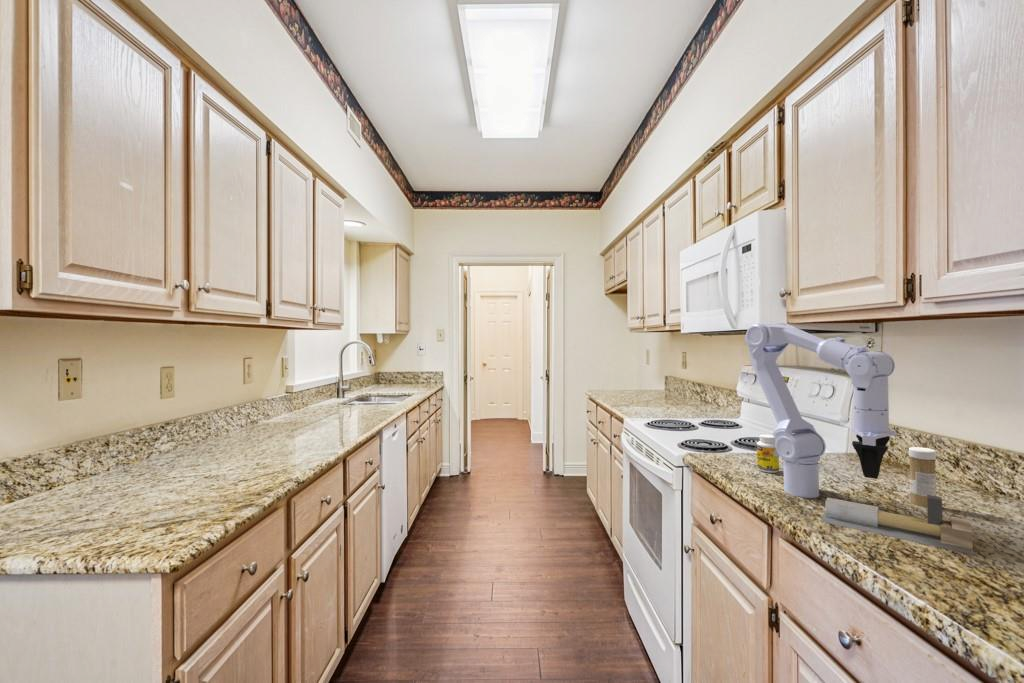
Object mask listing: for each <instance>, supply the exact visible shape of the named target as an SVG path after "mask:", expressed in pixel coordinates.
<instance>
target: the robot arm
mask: <svg viewBox="0 0 1024 683" xmlns="http://www.w3.org/2000/svg"><path fill="white" fill-rule="evenodd" d="M743 340H744V342H745V344H746V347H747V349H748V352H749V359H750V360H749V361H750V364H751V366H752V369H753V370H754V373H755V376H756V377H757V381H758V382H759V385H760V387H761V389H762V391H763V393H764V396H765V399H766V400H767V402H768V404H769V407H770V409H771V411H772V414H773V416H774V419H775V420H776V423H777V426H776V428H775V429H774V430H773V432H772V436H774V437H775V446H776V450H777V452H778V454H779V456H780V458H781V460H782V461H783V464H782V466H783V491H784V493H786V494H789V495H791V496H794V497H798V498H804V499H805V498H807V499H815V498H818V497H819V496H820V476H819V475H820V473H819V471H820V469H819V461H821V457H822V456H823V455H824V454H825V452H826V446H827V445H826V442H825V440H824V438H823V437H822V435H820V434H819V433H818V432H817V430H816V429H815V427H814V425H813V424H811V423H810V422H808V421H807V420H805V419H804V418H803V417H802V415H801V413H800V411H799V409H798V407H797V405H796V402H795V400H794V398H793V396H792V394H791V391H790V389H789V387H788V386H787V382H786V381H785V379H784V377H783V375H782V372H781V370H780V368H779V366H778V363H777V360H778V358H779V357H780V356H781V355H782V353H783V352H784V351H785V350H786V348H787V347H788V346H789V345H794V346H797V347H799V348H801V349H805V350H808V351H811V352H813V353H816V354H817V357H818V358H819V360H820V361H822V362H824V363H826V364H829V365H831V366H834V367H836V368H838V369H841V370H843V371H846V374H848V376H849V377H850V378H851V385H852V390H853V391H852V396H853V400H852V401H853V403H852V404H853V427H852V432H853V433H854V434H856V435H855V436H856V437H855V438H857V441H856V440H852V443H851V445H852V447H853V450H854V451H855V452H856V454H857V456H858V458H859V462H860V466H861V472H862V474H863V476H864V478H869V479H874V480H878V478H879V475H880V469H881V467H882V466H881V465H882V461H883V457H884V455H885V454H886V452H887V451H888V449H889V446H888V443H889V441H890V439H891V436H893V437H896V436H897V430H890V418H889V417H890V416H889V412H890V411H889V410H890V409H889V408H890V407H889V406H890V405H889V377H890V376H891V375H893V373H894V371H895V368H896V367H895V366H896V365H895V361H894V359H893V358H892V356H891V355H889V354H888V353H887V352H884V351H883V350H874V351H873V350H872V351H869V350H868V349H867V346H864V345H855V344H852V343H850V342H846V338H844V337H841V336H840V337H839V336H838V337H837V336H836V337H830V338H827V339H823V338H821V337H819V336H816V335H814V334H811V333H809V332H806V331H805V330H803V329H800V328H797V327H796V326H794V325H792V324H787V323H783V322H780V323H753V324H751V325H750V326H749V327H748V328H747V330H746V334H745V336H744V338H743Z"/></svg>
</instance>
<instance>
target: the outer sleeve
mask: <svg viewBox="0 0 1024 683" xmlns="http://www.w3.org/2000/svg"><path fill="white" fill-rule="evenodd" d="M825 499H826V500H825V503H824V504H825V506H824V507H825V509H824V511H825V510H826V517H829V518H834V519H839V520H844V521H848V522H853V523H858V524H863V525H868V526H872V527H877V528H878V514H877V512H878V511H879V506H876V505H869V504H866V503H865V504H864V503H859V502H853V501H850V500H849V501H848V500H843V499H838V498H832V497H826V498H825Z"/></svg>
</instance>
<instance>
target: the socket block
mask: <svg viewBox="0 0 1024 683" xmlns="http://www.w3.org/2000/svg"><path fill="white" fill-rule="evenodd" d="M942 521H943V523H946V524H951V525H952V527H951V526H946V525H941V524H940V526H941V536H940V538H941V543H945V544H950V545H955V546H960V547H964V548H969V549H974V548H973V547H974V546H973V545H974V544H973V527H972V524H971V521H970V519H966V518H959V517H955V516H950V517H949V519H948V518H944V517H942Z"/></svg>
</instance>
